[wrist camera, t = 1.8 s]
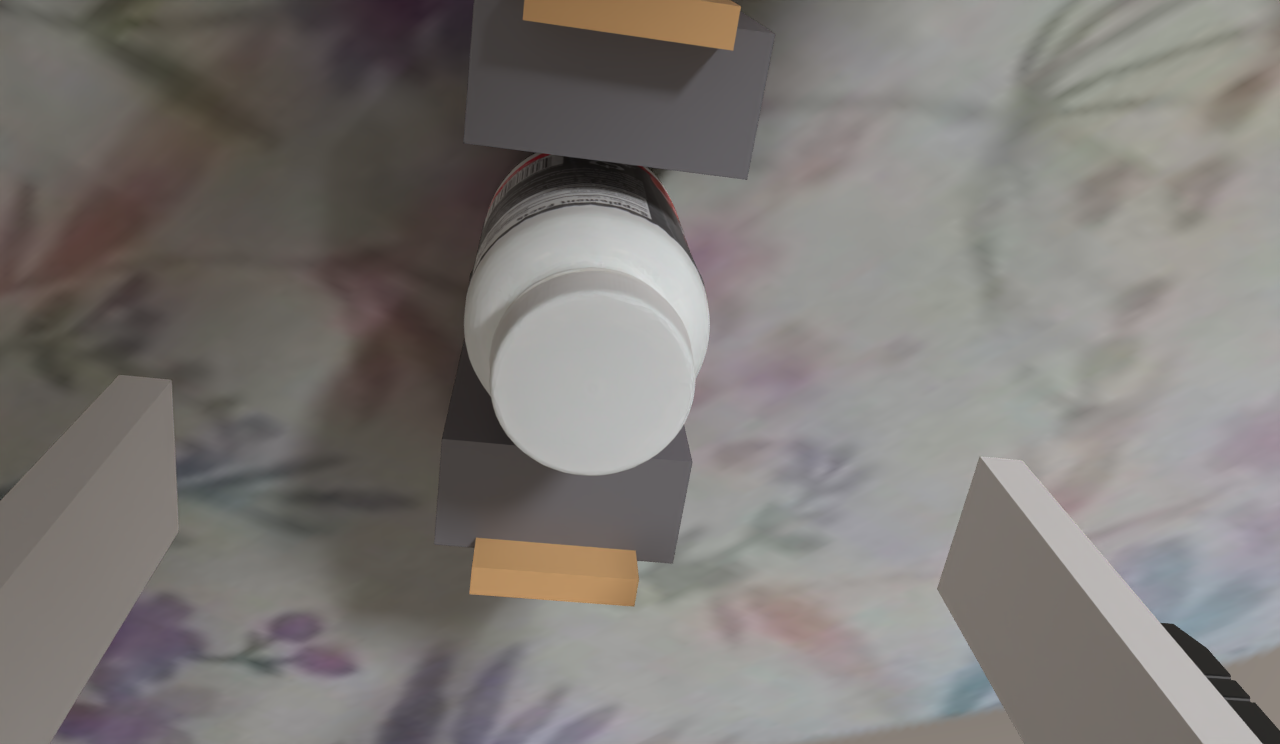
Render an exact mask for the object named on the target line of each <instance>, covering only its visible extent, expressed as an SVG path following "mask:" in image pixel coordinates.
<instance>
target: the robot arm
mask: <svg viewBox="0 0 1280 744" xmlns="http://www.w3.org/2000/svg"><path fill="white" fill-rule="evenodd" d="M178 532H179V520H178V499H177V478H176V458H175V437H174V416H173V395H172V380H170V379H159V378H148V377H138V376H127V375H118V376H117V378H116V379H115V380H114V381H113V382H112V383H111V384H110V385H109V386H108V387H107V388H106V389H105V390H104V391H103V392H102V393H101V394H100V396H99V397H98V398H97V399H96V400H95V401H94V402H93V403H92V404H91V405H90V406H89V407H88V408H87V409H86V410H85V411H84V413H83V414H82V415H81V416H80V417H79V418H78V419H77V420H76V421H75V422H74V423H73V424H72V425H71V426H70V427H69V428H68V430H67V431H66V432H65V433H64V434H63V435H62V436H61V437H60V438H59V439H58V440H57V441H56V442H55V443H54V444H53V445H52V446H51V448H50V449H49V450H48V451H47V452H46V453H45V454H44V455H43V456H42V457H41V458H40V459H39V460H38V461H37V462H36V463H35V465H34V466H33V467H32V468H31V469H30V470H29V471H28V472H27V473H26V474H25V475H24V476H23V477H22V478H21V479H20V480H19V482H18V483H17V484H16V485H15V486H14V487H13V488H12V489H11V490H10V491H9V492H8V493H7V494H6V495H5V496H4V497H3V498H2V500H1V501H0V744H50V742H51V741H52V739H53V737H54V736H55V734H56V732H57V731H58V729H59V727H60V726H61V724H62V723H63V721H64V719H65V718H66V716H67V714H68V713H69V711H70V709H71V708H72V706H73V704H74V703H75V701H76V700H77V698H78V696H79V695H80V693H81V691H82V690H83V688H84V686H85V685H86V683H87V681H88V680H89V678H90V676H91V675H92V673H93V672H94V670H95V668H96V667H97V665H98V663H99V662H100V660H101V658H102V657H103V655H104V653H105V652H106V650H107V649H108V647H109V645H110V644H111V642H112V640H113V639H114V637H115V635H116V634H117V632H118V630H119V629H120V627H121V626H122V624H123V622H124V621H125V619H126V617H127V616H128V614H129V612H130V611H131V609H132V607H133V606H134V604H135V603H136V601H137V599H138V598H139V596H140V594H141V593H142V591H143V589H144V588H145V586H146V584H147V583H148V581H149V579H150V578H151V576H152V575H153V573H154V571H155V570H156V568H157V566H158V565H159V563H160V561H161V560H162V558H163V556H164V555H165V553H166V552H167V550H168V548H169V547H170V545H171V543H172V542H173V540H174V538H175V537H176V535H177V533H178ZM937 589H938V591H939V593H940V595H941V597H942V598H943V600H944V602H945V604H946V605H947V607H948V609H949V611H950V613H951V614H952V616H953V618H954V620H955V621H956V623H957V625H958V627H959V629H960V630H961V632H962V634H963V636H964V637H965V639H966V641H967V643H968V645H969V646H970V648H971V650H972V652H973V653H974V655H975V657H976V659H977V661H978V662H979V664H980V666H981V668H982V669H983V671H984V673H985V675H986V677H987V678H988V680H989V682H990V684H991V685H992V687H993V689H994V691H995V693H996V694H997V696H998V698H999V700H1000V701H1001V703H1002V705H1003V707H1004V709H1005V710H1006V712H1007V714H1008V716H1009V717H1010V719H1011V721H1012V723H1013V725H1014V726H1015V728H1016V730H1017V731H1018V734H1019V735H1020V737H1021V739H1022V741H1023V742H1024V744H1280V731H1279V729H1278V728H1277V727H1276V726H1275V725H1274V724H1273V723H1272V721H1271V720H1270V719H1269V718H1268V717H1267V716H1266V715H1265V714H1264V712H1263V711H1262V710H1261V709H1260V708H1259V707H1258V706H1257V704H1256V703H1251V702H1250V696H1249V695H1248V694H1247V693H1246V692H1245V691H1244V690H1243V689H1242V687H1241V686H1240V685H1239V684H1238V683H1237V682H1236V681H1234V680H1231V678H1230V677H1231V676H1230V674H1229V673H1228V672H1227V670H1226V669H1225V668H1224V667H1223V666H1222V665H1221V664H1220V662H1219V661H1218V660H1217V659H1216V658H1215V657H1214V656H1213V655H1212V653H1211V652H1210V651H1209V650H1208V649H1207V648H1206V647H1204V646H1203V645H1202V644H1200V643H1199V642H1198V641H1196V640H1195V639H1193V638H1192V637H1191V636H1189V635H1188V634H1187V633H1185V632H1184V631H1182V630H1181V629H1180V628H1178V627H1177V626H1175V625H1174V624H1168V623H1160V622H1159V621H1158V620H1157V619H1156V618H1155V616H1154V615H1153V614H1152V613H1151V612H1150V610H1149V609H1148V608H1147V607H1146V606H1145V605H1144V603H1143V602H1142V601H1141V600H1140V599H1139V597H1138V596H1137V595H1136V594H1135V593H1134V592H1133V590H1132V589H1131V588H1130V587H1129V586H1128V585H1127V583H1126V582H1125V581H1124V580H1123V579H1122V577H1121V576H1120V575H1119V574H1118V573H1117V572H1116V570H1115V569H1114V568H1113V567H1112V566H1111V564H1110V563H1109V562H1108V561H1107V560H1106V559H1105V557H1104V556H1103V555H1102V554H1101V553H1100V552H1099V550H1098V549H1097V548H1096V547H1095V546H1094V544H1093V543H1092V542H1091V541H1090V540H1089V539H1088V537H1087V536H1086V535H1085V534H1084V533H1083V531H1082V530H1081V529H1080V528H1079V527H1078V526H1077V524H1076V523H1075V522H1074V521H1073V520H1072V519H1071V517H1070V516H1069V515H1068V514H1067V513H1066V511H1065V510H1064V509H1063V508H1062V507H1061V506H1060V504H1059V503H1058V502H1057V501H1056V500H1055V498H1054V497H1053V496H1052V495H1051V494H1050V493H1049V491H1048V490H1047V489H1046V488H1045V487H1044V486H1043V484H1042V483H1041V482H1040V481H1039V480H1038V478H1037V477H1036V476H1035V475H1034V474H1033V473H1032V471H1031V470H1030V469H1029V468H1028V467H1027V465H1026V464H1025V463H1024V462H1023V461H1022V460H1014V459H1003V458H993V457H982V456H980V457H979V460H978V464H977V467H976V470H975V473H974V476H973V479H972V482H971V485H970V488H969V492H968V495H967V498H966V501H965V504H964V507H963V510H962V513H961V516H960V520H959V523H958V526H957V529H956V532H955V535H954V538H953V541H952V544H951V548H950V551H949V554H948V557H947V560H946V563H945V566H944V569H943V572H942V575H941V579H940V582H939V585H938V588H937Z"/></svg>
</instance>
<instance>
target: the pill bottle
mask: <svg viewBox="0 0 1280 744" xmlns="http://www.w3.org/2000/svg"><path fill="white" fill-rule="evenodd" d="M709 333H710V318H709V309H708V301H707V297H706V292H705V287H704V283H703V280H702V277H701V275H700V273H699V271H698V269H697V267H696V265H695V263H694V260H693V258H692V255H691V253H690V250H689V247H688V244H687V241H686V238H685V236H684V233H683V229H682V227H681V224H680V221H679V218H678V215H677V213H676V210H675V208H674V205H673V203H672V201H671V199H670V197H669V195H668V193H667V191H666V189H665V188H664V186H663V184H662V183H661V181H660V180H659V179H658V178H657V177H656V175H655V174H654V173H653V172H652V171H651V170H650V169H649V168H648V167H644V166H637V165H629V164H621V163H613V162H606V161H598V160H590V159H582V158H575V157H567V156H559V155H551V154H544V153H535V154H533V155H531V156H530V157H528V158H527V159H525V160H524V161H522V162H521V163H520V164H518V165H517V166H516V167H515V168H514V169H513V170H512V171H511V172H510V173H509V174H508V176H507V177H506V178H505V179H504V181H503V182H502V183H501V185H500V186H499V188H498V190H497V191H496V193H495V195H494V197H493V199H492V201H491V204H490V206H489V210H488V213H487V216H486V219H485V222H484V225H483V230H482V235H481V238H480V243H479V247H478V251H477V256H476V260H475V264H474V267H473V270H472V272H471V274H470V283H469V287H468V291H467V295H466V304H465V314H464V335H465V342H466V347H467V352H468V355H469V359H470V362H471V364H472V367H473V369H474V371H475V373H476V375H477V377H478V378H479V380H480V382H481V383H482V385H483V387H484V388H485V389H486V391H487V392H488V394H489V395H490V396H491V400H492V404H493V408H494V411H495V414H496V417H497V419H498V421H499V423H500V425H501V427H502V428H503V430H504V431H505V433H506V435H507V436H508V437H509V438H510V439H511V441H512V442H513V443H514V444H515V445H516V446H517V447H518V448H519V449H520V450H521V451H523V452H524V453H525V454H526V455H528V456H529V457H530V458H532V459H534V460H535V461H537V462H539V463H540V464H542V465H544V466H547V467H549V468H552V469H555V470H558V471H561V472H564V473H570V474H574V475H586V476H599V475H607V474H613V473H618V472H621V471H625V470H628V469H631V468H634V467H636V466H638V465H639V464H642V463H644V462H646V461H647V460H649V459H651V458H652V457H654V456H655V455H657V454H658V453H659V452H661V451H662V450H663V449H664V448H665V447H666V446H667V445H668V444H669V443H670V442H671V441H672V440H673V439H674V438H675V437H676V435H677V434H678V432H679V431H680V430H681V428H682V427H683V425H684V423H685V421H686V419H687V417H688V414H689V412H690V409H691V406H692V403H693V398H694V392H695V379H696V377H697V375H698V373H699V371H700V369H701V366H702V364H703V361H704V358H705V355H706V351H707V347H708V342H709Z"/></svg>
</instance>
